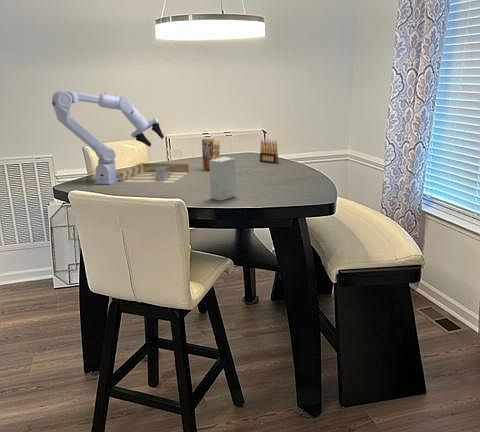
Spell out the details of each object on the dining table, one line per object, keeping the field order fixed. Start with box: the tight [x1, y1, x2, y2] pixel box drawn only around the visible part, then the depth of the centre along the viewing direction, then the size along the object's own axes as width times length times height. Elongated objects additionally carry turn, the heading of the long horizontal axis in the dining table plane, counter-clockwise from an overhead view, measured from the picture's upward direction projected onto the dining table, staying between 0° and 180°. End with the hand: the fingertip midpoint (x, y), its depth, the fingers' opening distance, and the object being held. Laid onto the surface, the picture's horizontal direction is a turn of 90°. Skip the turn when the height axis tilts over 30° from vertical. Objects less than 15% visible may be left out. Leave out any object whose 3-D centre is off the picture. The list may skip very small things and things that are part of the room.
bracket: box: [156, 167, 170, 182], centre depth 223 cm, size 8×6×5 cm
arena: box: [119, 162, 190, 184], centre depth 229 cm, size 24×24×5 cm
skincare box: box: [209, 156, 237, 201], centre depth 189 cm, size 8×6×15 cm
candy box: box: [201, 138, 221, 173], centre depth 242 cm, size 9×4×15 cm, turn 39°
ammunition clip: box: [259, 139, 279, 165], centre depth 261 cm, size 11×2×12 cm, turn 49°
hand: (156, 141), depth 232 cm, fingers open, 7 cm apart
